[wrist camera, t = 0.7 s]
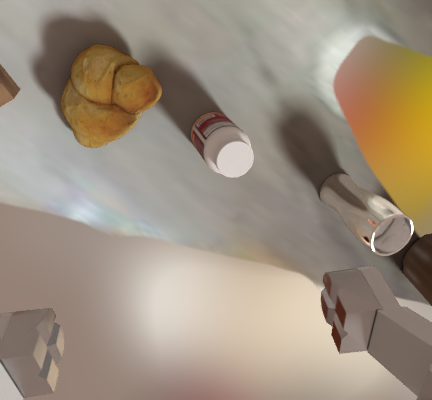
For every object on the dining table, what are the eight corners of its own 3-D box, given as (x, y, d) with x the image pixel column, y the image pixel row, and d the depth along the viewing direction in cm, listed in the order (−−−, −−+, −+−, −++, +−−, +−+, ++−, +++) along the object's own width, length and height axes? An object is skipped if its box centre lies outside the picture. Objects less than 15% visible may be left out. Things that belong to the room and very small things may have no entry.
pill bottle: (223, 157, 60) (247, 189, 50) (184, 146, 57) (202, 177, 48) (238, 118, 58) (267, 143, 48) (199, 105, 55) (221, 128, 46)
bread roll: (107, 154, 55) (110, 177, 48) (39, 113, 51) (31, 133, 44) (162, 74, 52) (172, 87, 46) (94, 25, 48) (95, 31, 41)
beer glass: (362, 182, 69) (424, 226, 56) (336, 214, 70) (390, 264, 58) (335, 162, 66) (395, 205, 53) (308, 197, 67) (360, 246, 54)
